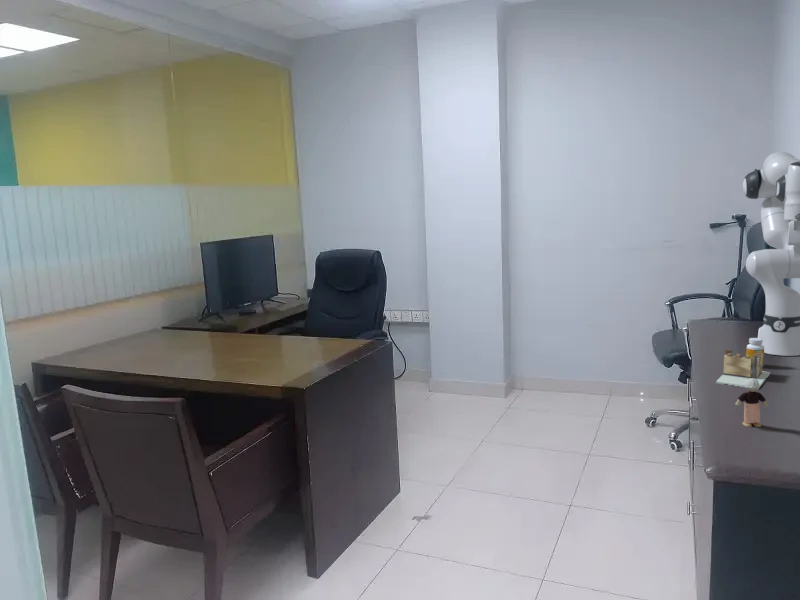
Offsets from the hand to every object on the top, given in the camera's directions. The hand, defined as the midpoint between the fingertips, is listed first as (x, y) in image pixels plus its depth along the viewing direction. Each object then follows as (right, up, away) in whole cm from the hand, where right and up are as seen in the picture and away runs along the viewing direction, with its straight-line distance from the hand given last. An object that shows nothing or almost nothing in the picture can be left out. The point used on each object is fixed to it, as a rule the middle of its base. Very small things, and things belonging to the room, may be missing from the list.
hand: (797, 257), depth 193 cm
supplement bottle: (-2, -37, +20) cm, 42 cm away
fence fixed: (-9, -38, +7) cm, 40 cm away
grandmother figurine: (-34, -47, -33) cm, 67 cm away
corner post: (-16, -39, +11) cm, 43 cm away
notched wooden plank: (-15, -38, +8) cm, 42 cm away
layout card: (-14, -39, +6) cm, 42 cm away
